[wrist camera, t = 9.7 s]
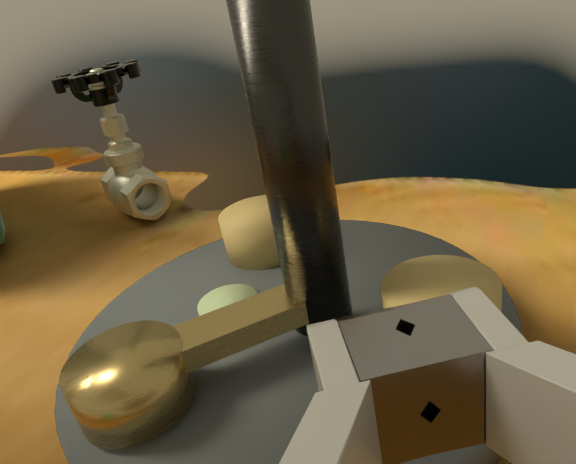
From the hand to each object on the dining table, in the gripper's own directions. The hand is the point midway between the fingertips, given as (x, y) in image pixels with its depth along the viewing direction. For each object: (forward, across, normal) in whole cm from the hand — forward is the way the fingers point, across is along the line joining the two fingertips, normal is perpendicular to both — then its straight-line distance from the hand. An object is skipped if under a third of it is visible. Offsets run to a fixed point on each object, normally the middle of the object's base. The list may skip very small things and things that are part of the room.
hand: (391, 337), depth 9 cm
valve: (+34, +12, +10) cm, 38 cm away
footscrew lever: (+10, +4, +8) cm, 13 cm away
